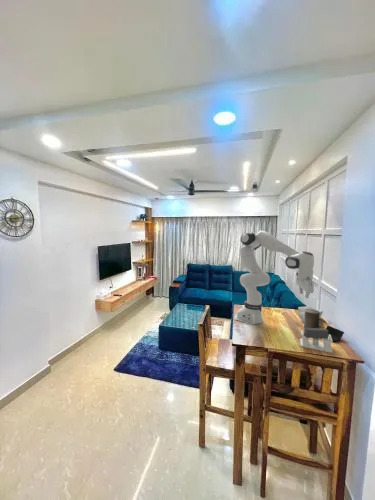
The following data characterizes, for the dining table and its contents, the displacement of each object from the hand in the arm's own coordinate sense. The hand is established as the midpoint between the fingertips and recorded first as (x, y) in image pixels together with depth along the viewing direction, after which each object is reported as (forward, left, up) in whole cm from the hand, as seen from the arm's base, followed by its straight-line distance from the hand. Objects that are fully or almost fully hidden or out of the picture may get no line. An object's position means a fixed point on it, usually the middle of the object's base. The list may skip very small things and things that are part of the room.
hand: (303, 295), depth 149 cm
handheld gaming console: (+16, +2, -29) cm, 33 cm away
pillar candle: (+7, +14, -29) cm, 33 cm away
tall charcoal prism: (+7, -13, -22) cm, 26 cm away
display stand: (+7, -13, -28) cm, 32 cm away
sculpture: (+9, +36, -29) cm, 47 cm away
